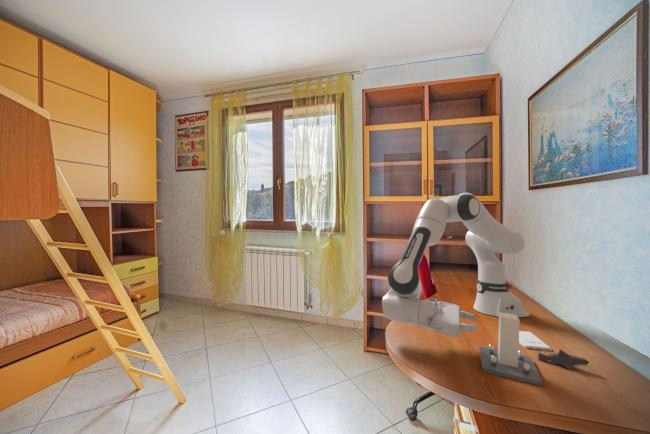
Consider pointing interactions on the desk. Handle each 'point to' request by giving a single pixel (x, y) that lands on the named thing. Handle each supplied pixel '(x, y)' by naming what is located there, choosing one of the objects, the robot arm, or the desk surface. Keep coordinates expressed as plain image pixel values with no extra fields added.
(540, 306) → the desk surface
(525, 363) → the plate
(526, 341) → the external hard drive
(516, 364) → the cream column
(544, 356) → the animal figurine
